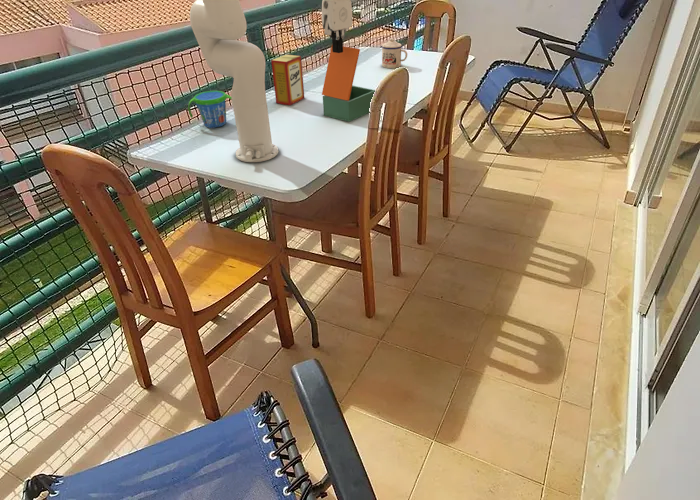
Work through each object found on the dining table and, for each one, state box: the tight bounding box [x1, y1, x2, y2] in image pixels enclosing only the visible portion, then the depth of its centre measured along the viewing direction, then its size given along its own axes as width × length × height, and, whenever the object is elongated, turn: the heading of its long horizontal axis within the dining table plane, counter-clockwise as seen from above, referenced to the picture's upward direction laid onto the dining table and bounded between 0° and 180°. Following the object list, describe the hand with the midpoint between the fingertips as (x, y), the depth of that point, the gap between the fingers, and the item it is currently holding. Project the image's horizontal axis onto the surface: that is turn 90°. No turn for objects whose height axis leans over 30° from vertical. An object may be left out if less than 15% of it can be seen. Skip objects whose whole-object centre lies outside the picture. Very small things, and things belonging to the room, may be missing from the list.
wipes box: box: [322, 84, 376, 123], centre depth 174 cm, size 16×12×7 cm
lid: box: [321, 46, 361, 101], centre depth 164 cm, size 16×12×1 cm
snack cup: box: [187, 90, 232, 129], centre depth 167 cm, size 16×10×10 cm
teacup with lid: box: [381, 37, 408, 69], centre depth 222 cm, size 12×9×12 cm
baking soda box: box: [270, 54, 305, 106], centre depth 184 cm, size 10×6×16 cm
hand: (337, 52), depth 160 cm, fingers closed
